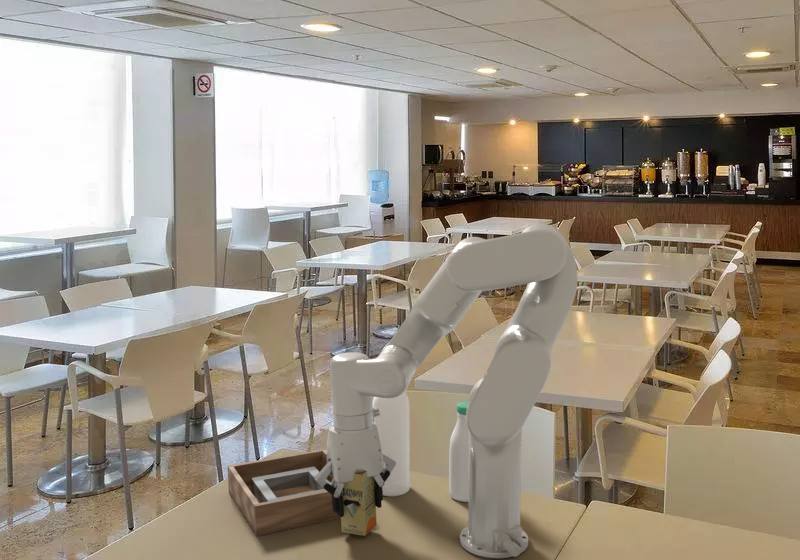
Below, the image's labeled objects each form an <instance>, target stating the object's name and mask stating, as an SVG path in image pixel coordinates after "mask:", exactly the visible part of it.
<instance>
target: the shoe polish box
mask: <svg viewBox="0 0 800 560" xmlns="http://www.w3.org/2000/svg"><path fill="white" fill-rule="evenodd" d="M341 496H342V497H343V505H344V516H343V517H341V518H340V521H341V522H340V524H341V533H345V534H351V535H357V536H364V537H366V536H367V535H368V534H369V533H370V532H371V530H373V529H374V528H375V527H376V526H377V507H376V506H375V485H374V478H373V477H367V471H363V472H359V473H354V476H353V481H350V482H346V483H345V484H344V486H343V489H342V491H341Z"/></svg>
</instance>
